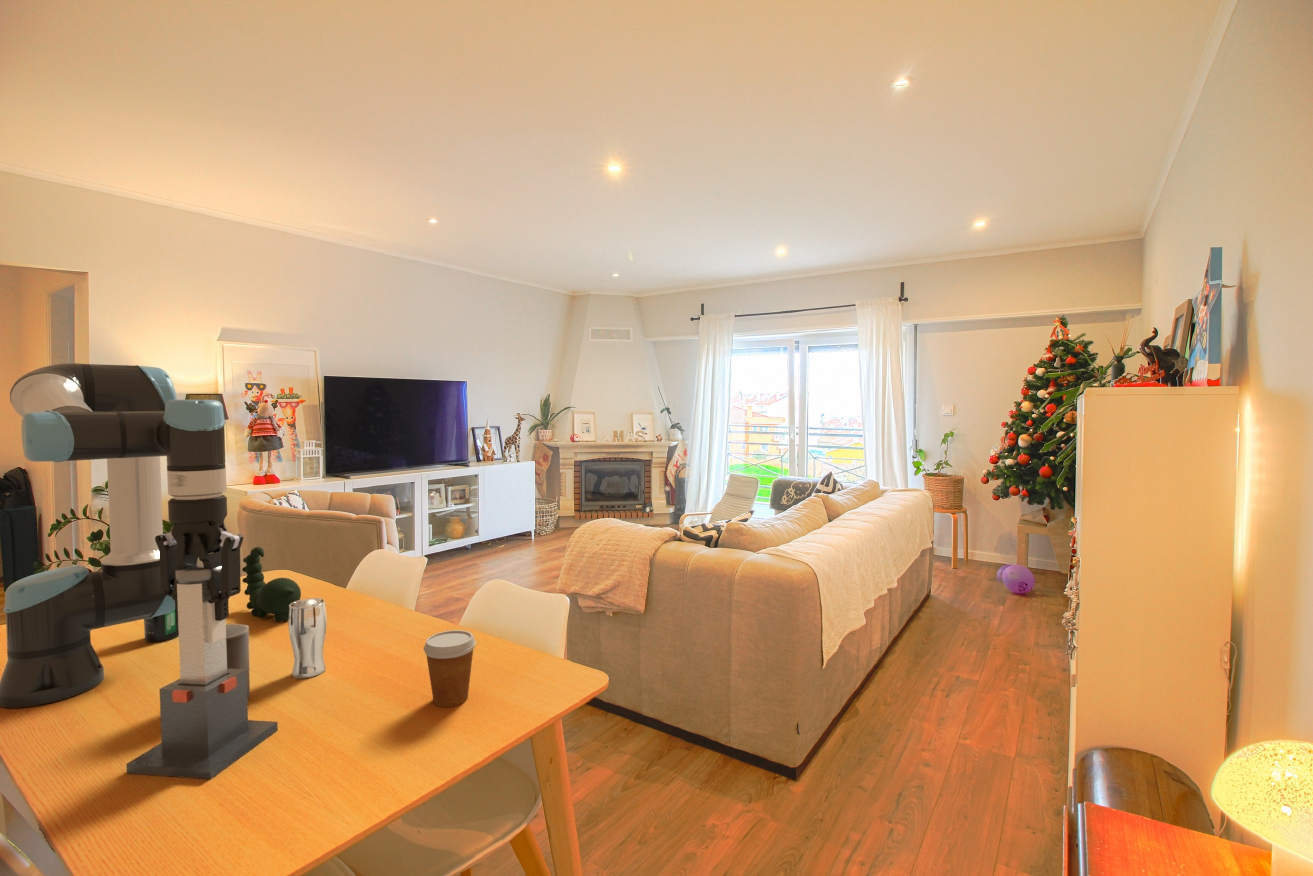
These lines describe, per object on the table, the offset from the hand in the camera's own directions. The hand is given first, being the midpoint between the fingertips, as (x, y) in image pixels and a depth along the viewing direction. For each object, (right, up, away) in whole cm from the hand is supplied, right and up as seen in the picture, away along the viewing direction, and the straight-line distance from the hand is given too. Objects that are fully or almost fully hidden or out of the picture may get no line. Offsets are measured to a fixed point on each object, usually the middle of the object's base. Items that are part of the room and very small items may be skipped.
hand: (202, 638), depth 98 cm
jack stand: (0, -19, +1) cm, 19 cm away
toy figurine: (-30, -16, +64) cm, 73 cm away
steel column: (0, -12, +1) cm, 12 cm away
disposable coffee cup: (+34, -18, +19) cm, 43 cm away
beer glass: (0, -17, +30) cm, 35 cm away
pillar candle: (-9, -18, +17) cm, 27 cm away
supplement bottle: (-46, -16, +49) cm, 69 cm away
